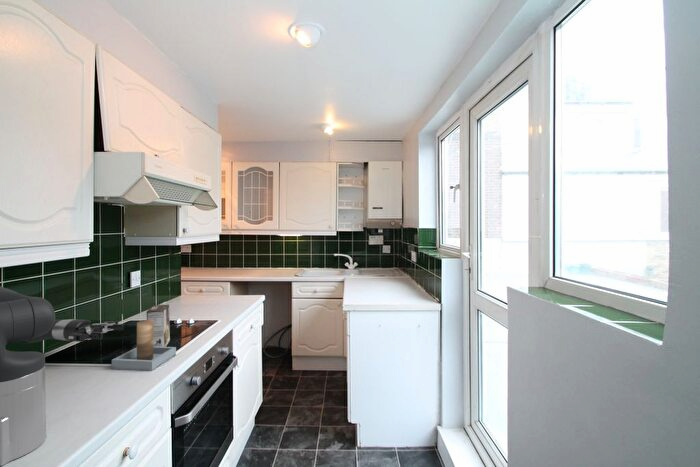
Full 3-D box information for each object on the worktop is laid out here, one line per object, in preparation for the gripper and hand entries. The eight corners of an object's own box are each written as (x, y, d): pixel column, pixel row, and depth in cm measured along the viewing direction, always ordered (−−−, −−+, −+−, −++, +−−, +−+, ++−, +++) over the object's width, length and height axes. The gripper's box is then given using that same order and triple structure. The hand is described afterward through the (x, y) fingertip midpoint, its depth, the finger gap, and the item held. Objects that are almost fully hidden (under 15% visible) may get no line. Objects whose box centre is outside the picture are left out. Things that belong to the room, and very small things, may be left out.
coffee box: (152, 342, 123) (152, 305, 122) (170, 340, 125) (169, 303, 125) (146, 351, 114) (145, 311, 114) (164, 348, 116) (164, 309, 116)
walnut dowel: (145, 363, 102) (146, 324, 102) (133, 362, 103) (133, 323, 102) (156, 356, 107) (156, 320, 107) (144, 356, 108) (144, 319, 107)
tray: (152, 370, 98) (151, 361, 98) (111, 368, 100) (111, 359, 100) (176, 355, 110) (175, 347, 110) (139, 353, 112) (139, 345, 112)
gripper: (51, 326, 100) (94, 328, 99) (91, 314, 114) (129, 315, 113) (51, 347, 100) (94, 349, 99) (91, 332, 114) (129, 334, 113)
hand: (113, 331), depth 106 cm, fingers open, 8 cm apart
